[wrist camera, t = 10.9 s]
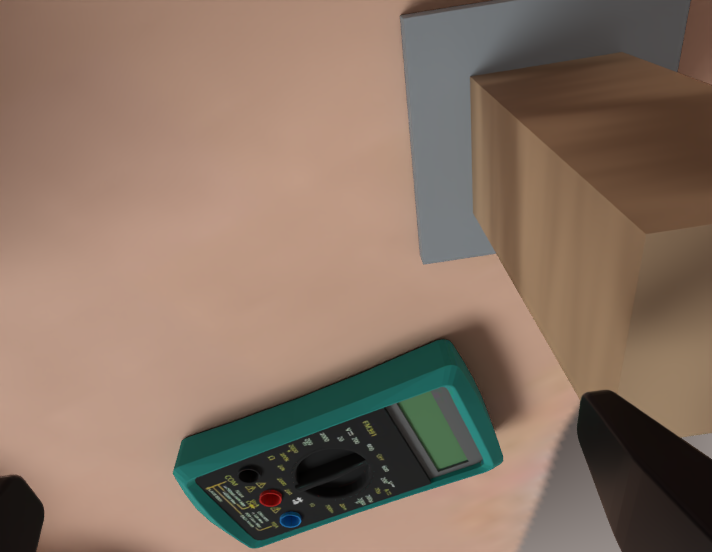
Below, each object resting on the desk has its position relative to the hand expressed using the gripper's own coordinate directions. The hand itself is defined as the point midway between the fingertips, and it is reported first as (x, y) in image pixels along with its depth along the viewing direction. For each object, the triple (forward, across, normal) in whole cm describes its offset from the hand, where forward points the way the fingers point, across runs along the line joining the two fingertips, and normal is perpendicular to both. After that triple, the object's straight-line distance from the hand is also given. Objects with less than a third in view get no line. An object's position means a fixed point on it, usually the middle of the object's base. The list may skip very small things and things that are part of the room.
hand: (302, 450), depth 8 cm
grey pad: (+13, -8, 0) cm, 15 cm away
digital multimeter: (+14, +1, +15) cm, 20 cm away
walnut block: (+12, -8, 0) cm, 15 cm away
